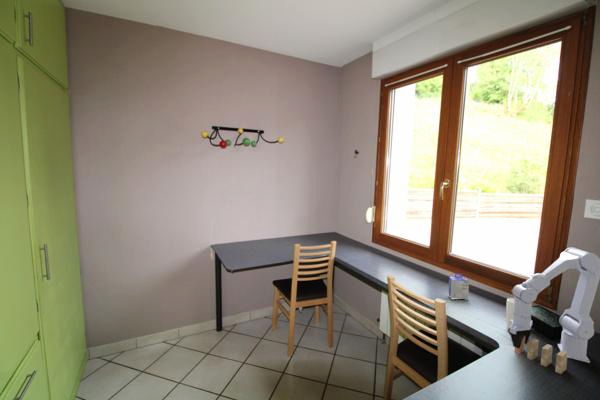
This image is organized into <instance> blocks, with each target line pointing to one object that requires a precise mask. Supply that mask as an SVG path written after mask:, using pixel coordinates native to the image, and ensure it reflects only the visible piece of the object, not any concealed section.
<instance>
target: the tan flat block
mask: <svg viewBox="0 0 600 400" xmlns="http://www.w3.org/2000/svg"><path fill="white" fill-rule="evenodd" d="M552 357H553V345H551V344H549V343H548V344H546V345H544V346H543V347H541V355H540V365H541V366H543V367H545V368H546V367H548V366H550V364H552Z"/></svg>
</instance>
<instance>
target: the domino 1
mask: <svg viewBox="0 0 600 400" xmlns="http://www.w3.org/2000/svg"><path fill="white" fill-rule="evenodd" d="M539 342H540V341H539V339H536V338H532V339H531V340H528V342H527V353H526V355H527V356H526V358H527V359H528V360H530V361H533V360H535V359H536V358H537V357H538V354H539V344H540V343H539Z"/></svg>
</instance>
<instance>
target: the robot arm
mask: <svg viewBox="0 0 600 400" xmlns="http://www.w3.org/2000/svg"><path fill="white" fill-rule="evenodd" d="M569 269H570V270H571V269H572V270H577V271H578V272H580V274H579V278H578V281H577V285H576V287H575V292H574V294H573V298H572V302H571V306H570V308H568V309H564V311H563V313H562V314H561V316H560V317H559V321H558V322H559V324H560V325H561V327H562V331H561V336H560V337H561V338H560V343H557V347H558V349H559V352H560V351H562V350H563V351H565V352H568V354H567V359H572V360H576V361H580V362H583V363H584V362H585V363H588V364H590V363H591V361H590V359H589V358H588V356H587V350H588V349H587V348H588V340H590V339H591V338H592V337H593V336H594V334H595V329H594V328H595V327H594V324H595V322H594V321H593V319H592V317H591V316H590V312H591V309H592V306H593V304H594V303H593V302H594V299H595V297H596V296H595V295H596V292H597V288H598V285H599V282H600V257H599V256H598V255H597V254H596V253H593V252H589V251H585V250H582V249H579V248H577V247H573V246H571V247H567V248H566V249H565V250H564V251H562V252H561V253H560V255H559V257H558V258H557V259H556V260H555V261H554V262H553V263H552V264H551V265H550V266H548V267H547V268H546V269H545V270H544V271H543V272H541V273H539V272H537V273H533V274H532V275H531V277H529V278H528V279H527V280H525V281H523V282H522V283H519V284H516V285H515V286H514V287H513V288H512V289H511V293H512V295H513V298H514V299H515V300H514V315H513V320H510V322H511V323H512V326H511V328H509V329H508V330H507V332H508V333H509V336H510V338H511V342H512V346H513V347H514V348H515V347H516V348H518V349H519V348H520V346H521V343H522V340H523V338H524V336H525V335H526V336H525V345H528V342H529V341H530V340H529V339H530V336H531V335H532V333H533V332H534V331H535V328H534V327H532V326H533V320H532V308H533V302H535V301H536V300H537V298H538V295H539V293H541V292H543V290H545V289H546V288H547V287H549V286H550V285H551V280H553V279H554V278H556V277H557V276H559V275H560V274H562V273H564V272H565V271H567V270H569Z"/></svg>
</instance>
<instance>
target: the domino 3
mask: <svg viewBox="0 0 600 400" xmlns="http://www.w3.org/2000/svg"><path fill="white" fill-rule="evenodd" d="M567 354H568V352H565V351H563V350H562V351H560V350H559V352H558V353H556V358H555V368H554V369H555V373H558V374H559V375H562V374H563V373H564V372H565V371H567V365H568V357H567Z"/></svg>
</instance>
